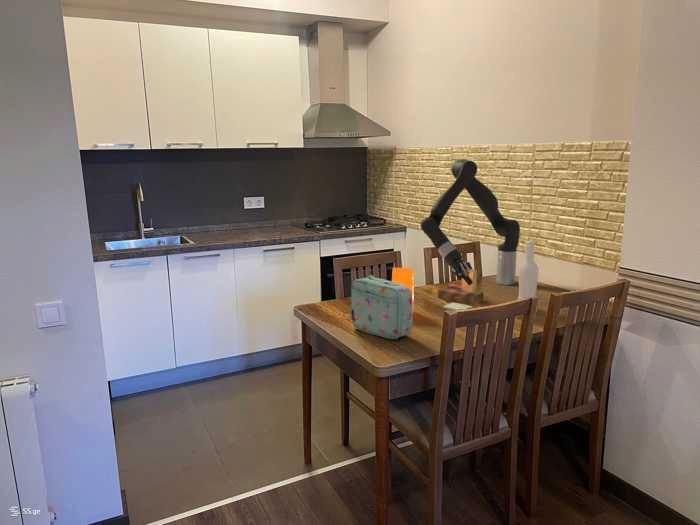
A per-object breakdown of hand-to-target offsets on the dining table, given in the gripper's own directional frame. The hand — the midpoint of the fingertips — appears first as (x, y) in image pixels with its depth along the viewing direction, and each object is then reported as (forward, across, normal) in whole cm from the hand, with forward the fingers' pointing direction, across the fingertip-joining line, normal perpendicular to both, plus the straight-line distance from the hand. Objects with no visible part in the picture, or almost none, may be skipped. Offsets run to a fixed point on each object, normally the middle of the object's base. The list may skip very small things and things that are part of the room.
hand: (473, 283), depth 223 cm
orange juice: (-5, -31, +18) cm, 36 cm away
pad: (+5, -10, +8) cm, 14 cm away
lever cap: (+1, 0, +4) cm, 4 cm away
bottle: (+23, +6, -9) cm, 25 cm away
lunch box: (0, -56, +12) cm, 57 cm away
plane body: (+1, +3, +12) cm, 13 cm away
